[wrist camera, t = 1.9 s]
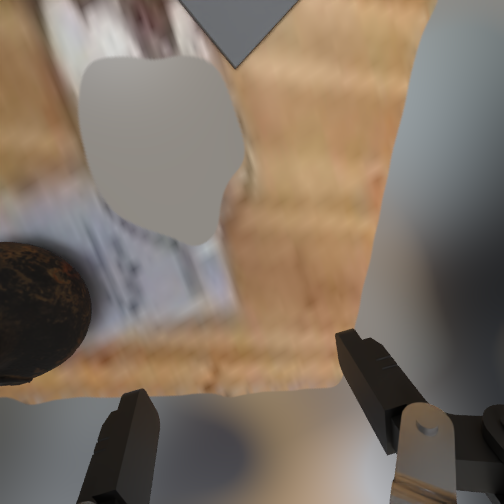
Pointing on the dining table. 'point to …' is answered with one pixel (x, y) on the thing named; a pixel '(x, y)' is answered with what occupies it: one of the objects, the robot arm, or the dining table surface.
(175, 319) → the dining table surface
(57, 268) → the glass bottle
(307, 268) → the dining table surface
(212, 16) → the rubber mat
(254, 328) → the dining table surface
